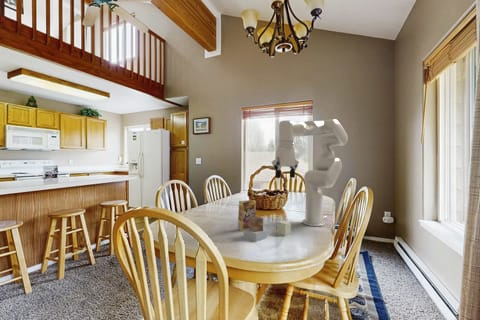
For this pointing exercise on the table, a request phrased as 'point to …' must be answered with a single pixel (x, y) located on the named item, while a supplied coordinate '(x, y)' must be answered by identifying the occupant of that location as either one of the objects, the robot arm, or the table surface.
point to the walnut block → (256, 223)
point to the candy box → (246, 213)
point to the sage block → (283, 227)
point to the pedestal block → (255, 235)
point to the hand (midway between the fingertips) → (285, 177)
